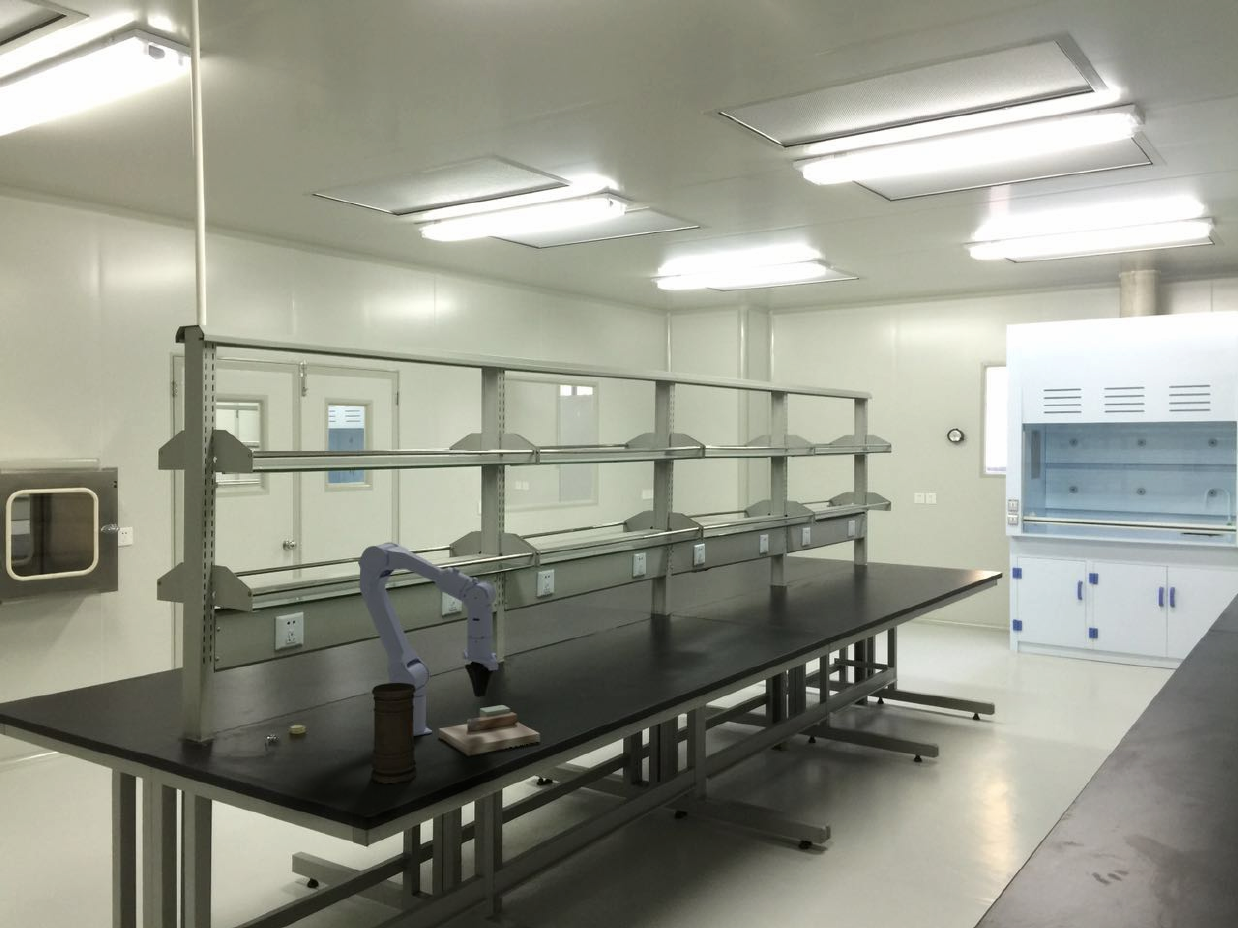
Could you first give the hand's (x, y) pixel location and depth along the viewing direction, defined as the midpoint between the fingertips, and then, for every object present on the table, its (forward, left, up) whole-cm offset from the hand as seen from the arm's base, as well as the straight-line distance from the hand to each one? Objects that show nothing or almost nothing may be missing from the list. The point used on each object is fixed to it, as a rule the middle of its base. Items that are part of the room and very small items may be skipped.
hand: (479, 695), depth 226 cm
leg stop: (+5, +2, -7) cm, 9 cm away
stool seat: (+1, -3, -9) cm, 10 cm away
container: (-26, -15, -10) cm, 32 cm away
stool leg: (+3, -1, -7) cm, 8 cm away
